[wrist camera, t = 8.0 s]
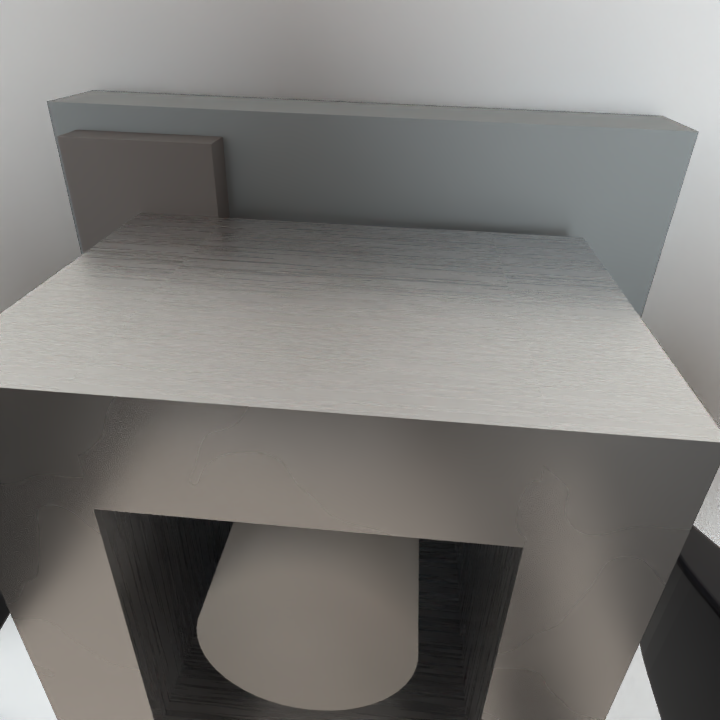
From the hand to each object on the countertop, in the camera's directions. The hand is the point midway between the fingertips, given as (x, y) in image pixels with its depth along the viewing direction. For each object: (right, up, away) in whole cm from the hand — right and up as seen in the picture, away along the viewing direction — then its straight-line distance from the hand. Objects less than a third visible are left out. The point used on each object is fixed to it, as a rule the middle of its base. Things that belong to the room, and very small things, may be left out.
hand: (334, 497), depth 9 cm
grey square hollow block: (0, +1, +2) cm, 2 cm away
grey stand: (0, +2, +4) cm, 4 cm away
